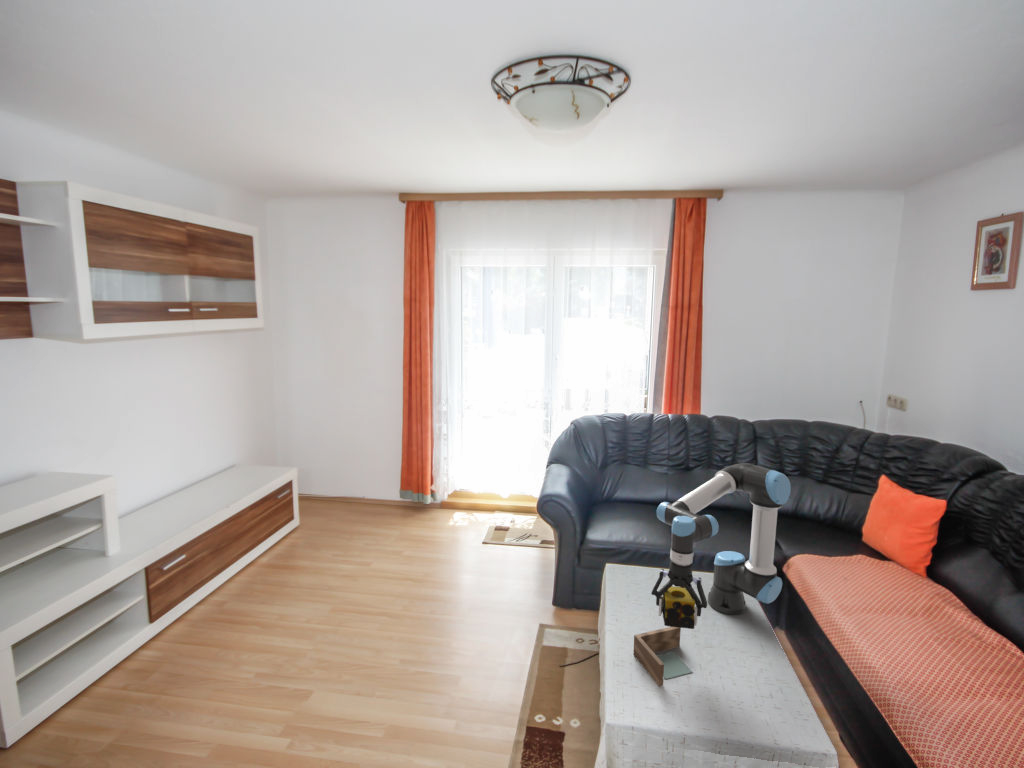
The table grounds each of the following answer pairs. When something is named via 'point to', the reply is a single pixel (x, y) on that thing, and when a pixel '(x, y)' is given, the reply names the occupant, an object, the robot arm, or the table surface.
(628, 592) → the table surface
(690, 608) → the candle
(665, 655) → the mat
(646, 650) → the corner walls
